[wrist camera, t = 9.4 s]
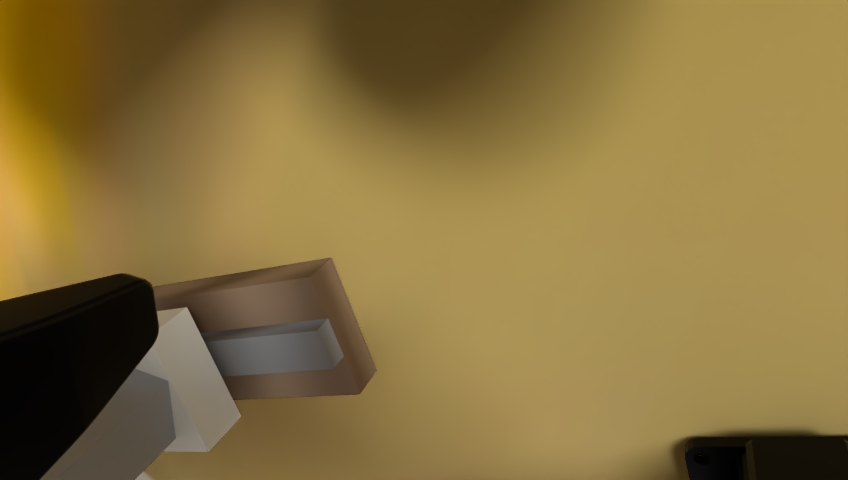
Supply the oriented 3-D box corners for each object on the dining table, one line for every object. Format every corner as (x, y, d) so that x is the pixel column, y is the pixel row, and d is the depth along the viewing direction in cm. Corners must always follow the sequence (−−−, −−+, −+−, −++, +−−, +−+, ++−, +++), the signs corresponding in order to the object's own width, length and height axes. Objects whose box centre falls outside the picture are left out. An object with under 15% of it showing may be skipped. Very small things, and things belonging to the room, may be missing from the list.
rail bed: (331, 257, 23) (229, 352, 18) (376, 370, 25) (295, 486, 19) (115, 293, 28) (-11, 373, 23) (163, 383, 30) (56, 477, 25)
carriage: (187, 307, 23) (-117, 537, 14) (241, 416, 25) (-3, 683, 16) (114, 317, 25) (-194, 527, 16) (170, 418, 26) (-85, 659, 18)
